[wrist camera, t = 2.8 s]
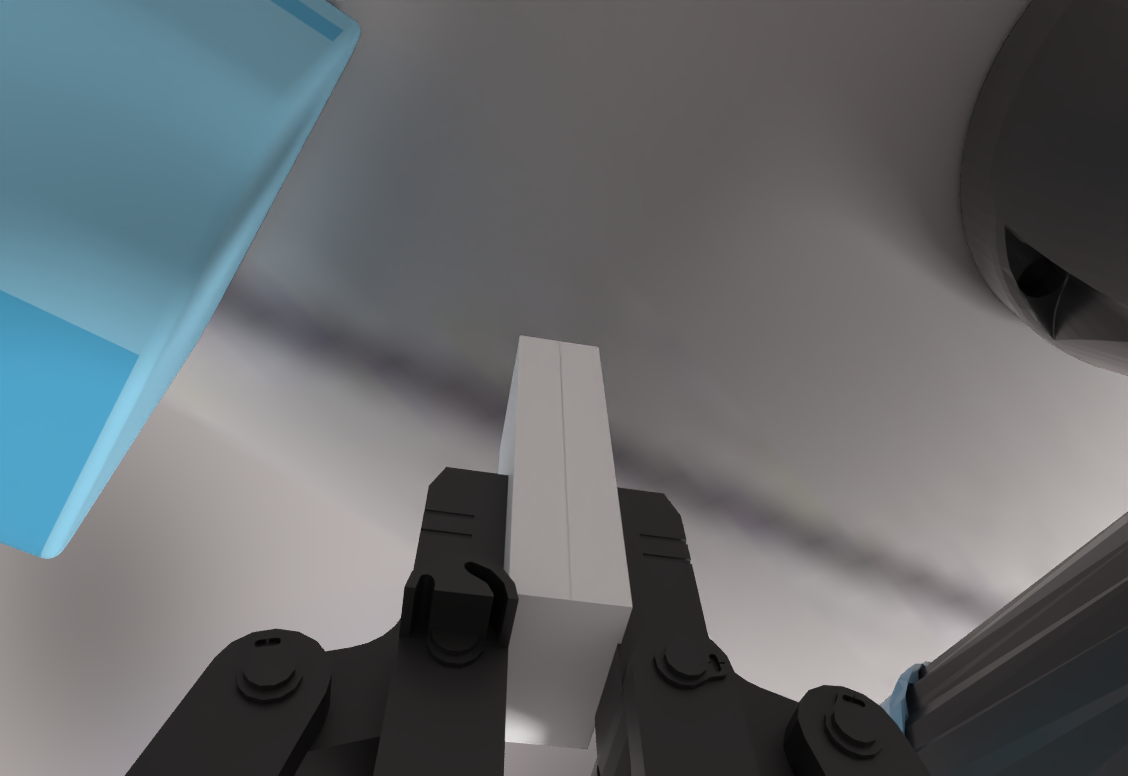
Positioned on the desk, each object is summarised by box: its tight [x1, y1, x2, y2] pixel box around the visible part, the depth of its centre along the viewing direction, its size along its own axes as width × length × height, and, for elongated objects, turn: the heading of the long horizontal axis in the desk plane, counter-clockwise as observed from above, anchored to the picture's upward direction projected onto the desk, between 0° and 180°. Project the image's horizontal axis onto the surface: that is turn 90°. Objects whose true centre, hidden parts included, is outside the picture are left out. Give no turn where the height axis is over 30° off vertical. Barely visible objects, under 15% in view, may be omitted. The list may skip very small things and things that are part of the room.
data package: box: [0, 0, 361, 559], centre depth 20 cm, size 12×4×12 cm, turn 145°
